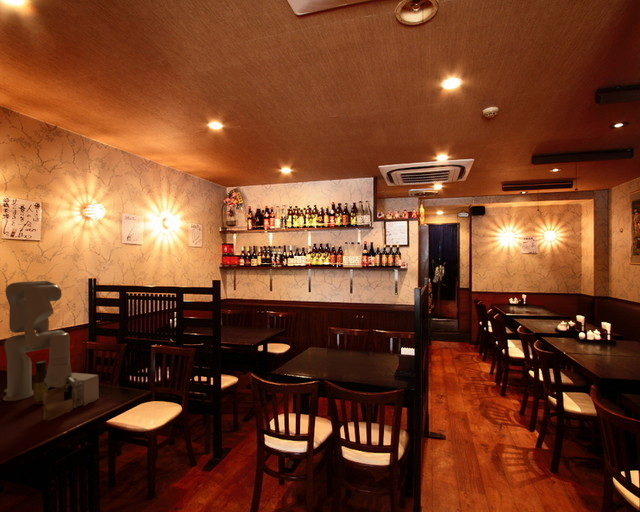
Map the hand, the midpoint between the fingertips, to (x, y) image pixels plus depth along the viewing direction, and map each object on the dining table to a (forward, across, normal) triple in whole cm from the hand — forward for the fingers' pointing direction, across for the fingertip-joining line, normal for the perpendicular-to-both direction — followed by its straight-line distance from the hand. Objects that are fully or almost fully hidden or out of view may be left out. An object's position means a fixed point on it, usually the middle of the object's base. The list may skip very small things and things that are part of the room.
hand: (59, 398), depth 158 cm
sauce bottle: (+8, -22, +8) cm, 24 cm away
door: (+7, 0, +2) cm, 7 cm away
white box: (+7, -6, +12) cm, 15 cm away
